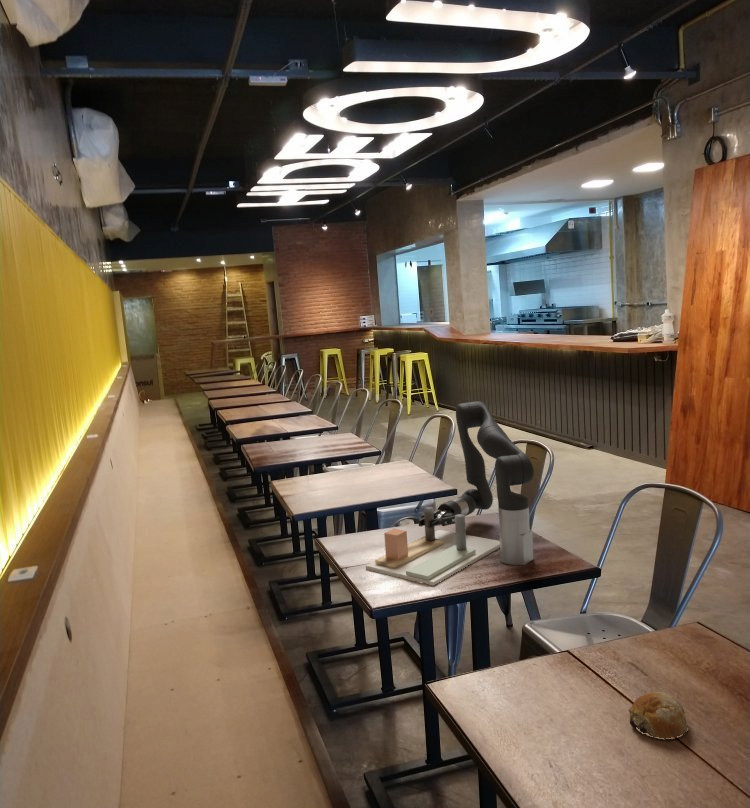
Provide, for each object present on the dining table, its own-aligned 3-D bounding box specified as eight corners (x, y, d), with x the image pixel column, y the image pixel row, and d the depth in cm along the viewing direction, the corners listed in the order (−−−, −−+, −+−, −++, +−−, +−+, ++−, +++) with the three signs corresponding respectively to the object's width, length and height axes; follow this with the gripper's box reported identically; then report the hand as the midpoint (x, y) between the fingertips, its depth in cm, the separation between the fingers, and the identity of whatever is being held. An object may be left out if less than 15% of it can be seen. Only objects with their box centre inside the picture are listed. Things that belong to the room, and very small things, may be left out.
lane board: (503, 545, 235) (503, 541, 235) (433, 586, 205) (433, 582, 204) (439, 533, 251) (439, 529, 251) (365, 569, 221) (365, 565, 221)
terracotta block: (408, 555, 224) (406, 530, 223) (398, 560, 220) (396, 535, 219) (395, 552, 227) (394, 528, 226) (385, 557, 223) (384, 533, 222)
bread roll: (683, 762, 127) (703, 725, 126) (629, 737, 128) (648, 700, 127) (670, 729, 137) (689, 695, 135) (620, 706, 138) (637, 672, 136)
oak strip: (443, 543, 236) (441, 508, 234) (395, 568, 217) (392, 530, 215) (424, 539, 241) (422, 505, 240) (375, 563, 222) (372, 526, 220)
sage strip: (475, 552, 225) (473, 515, 224) (427, 580, 206) (425, 539, 204) (454, 548, 230) (452, 512, 229) (406, 574, 211) (403, 535, 209)
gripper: (436, 497, 251) (406, 510, 238) (469, 502, 242) (441, 516, 229) (437, 518, 252) (407, 532, 239) (470, 524, 243) (442, 538, 230)
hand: (424, 524), depth 234 cm, fingers closed on oak strip, 3 cm apart
